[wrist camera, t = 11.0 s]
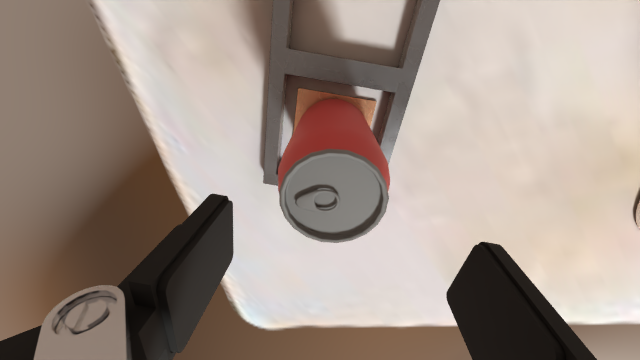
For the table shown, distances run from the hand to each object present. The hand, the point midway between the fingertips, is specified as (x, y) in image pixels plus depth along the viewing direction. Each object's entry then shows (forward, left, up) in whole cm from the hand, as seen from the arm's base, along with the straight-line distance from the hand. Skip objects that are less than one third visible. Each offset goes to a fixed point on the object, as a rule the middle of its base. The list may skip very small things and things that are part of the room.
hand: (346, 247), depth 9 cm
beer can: (+1, 0, -15) cm, 15 cm away
